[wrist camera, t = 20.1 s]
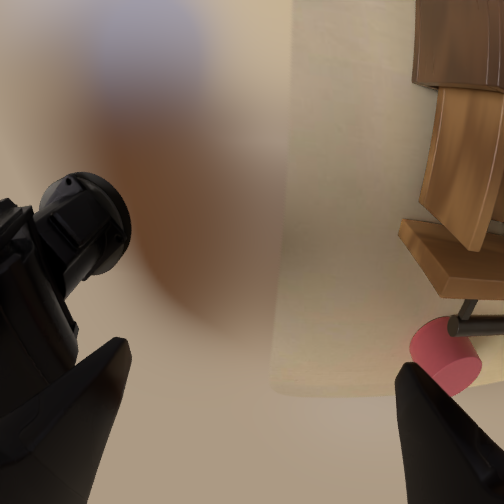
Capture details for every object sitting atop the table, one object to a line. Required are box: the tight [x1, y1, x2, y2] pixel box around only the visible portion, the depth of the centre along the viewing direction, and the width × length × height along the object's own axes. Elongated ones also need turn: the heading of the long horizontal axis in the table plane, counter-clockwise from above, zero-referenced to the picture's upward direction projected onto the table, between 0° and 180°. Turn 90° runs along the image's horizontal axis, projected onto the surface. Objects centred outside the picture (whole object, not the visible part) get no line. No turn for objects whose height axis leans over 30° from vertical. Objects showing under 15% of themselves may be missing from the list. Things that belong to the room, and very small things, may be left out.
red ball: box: [410, 317, 482, 397], centre depth 22 cm, size 5×5×5 cm
